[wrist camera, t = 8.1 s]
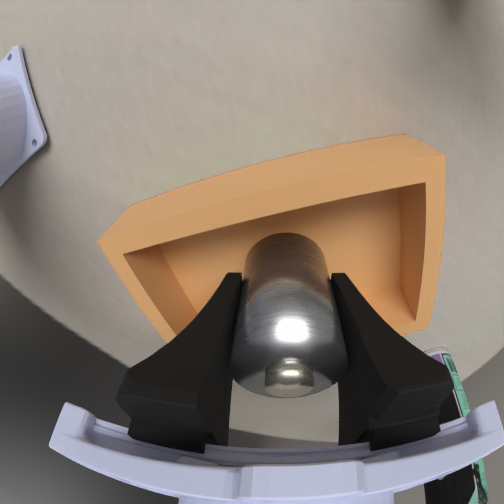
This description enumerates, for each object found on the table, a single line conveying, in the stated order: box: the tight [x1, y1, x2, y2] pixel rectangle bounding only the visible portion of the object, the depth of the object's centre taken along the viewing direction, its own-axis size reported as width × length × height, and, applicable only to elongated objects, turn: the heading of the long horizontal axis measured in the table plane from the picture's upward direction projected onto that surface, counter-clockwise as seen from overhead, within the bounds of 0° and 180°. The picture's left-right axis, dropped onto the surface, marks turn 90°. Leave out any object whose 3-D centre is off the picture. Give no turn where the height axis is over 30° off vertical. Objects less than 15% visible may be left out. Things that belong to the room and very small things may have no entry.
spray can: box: [424, 347, 488, 504], centre depth 13 cm, size 6×6×20 cm
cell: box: [229, 232, 348, 398], centre depth 11 cm, size 4×4×7 cm
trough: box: [97, 134, 446, 343], centre depth 14 cm, size 15×10×4 cm, turn 107°
